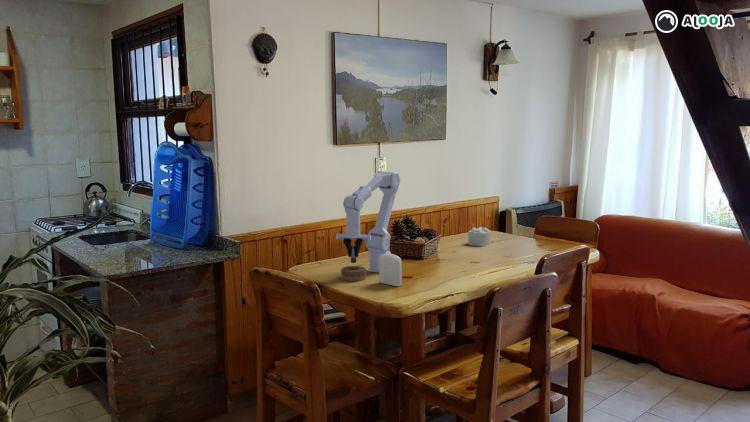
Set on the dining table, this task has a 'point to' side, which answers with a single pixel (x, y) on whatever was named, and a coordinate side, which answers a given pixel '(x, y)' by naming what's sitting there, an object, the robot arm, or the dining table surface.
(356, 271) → the bead
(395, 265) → the white upright block
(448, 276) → the dining table surface
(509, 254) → the dining table surface
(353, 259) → the dark grey capsule
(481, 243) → the lumpy-topped squat cylinder
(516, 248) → the dining table surface
